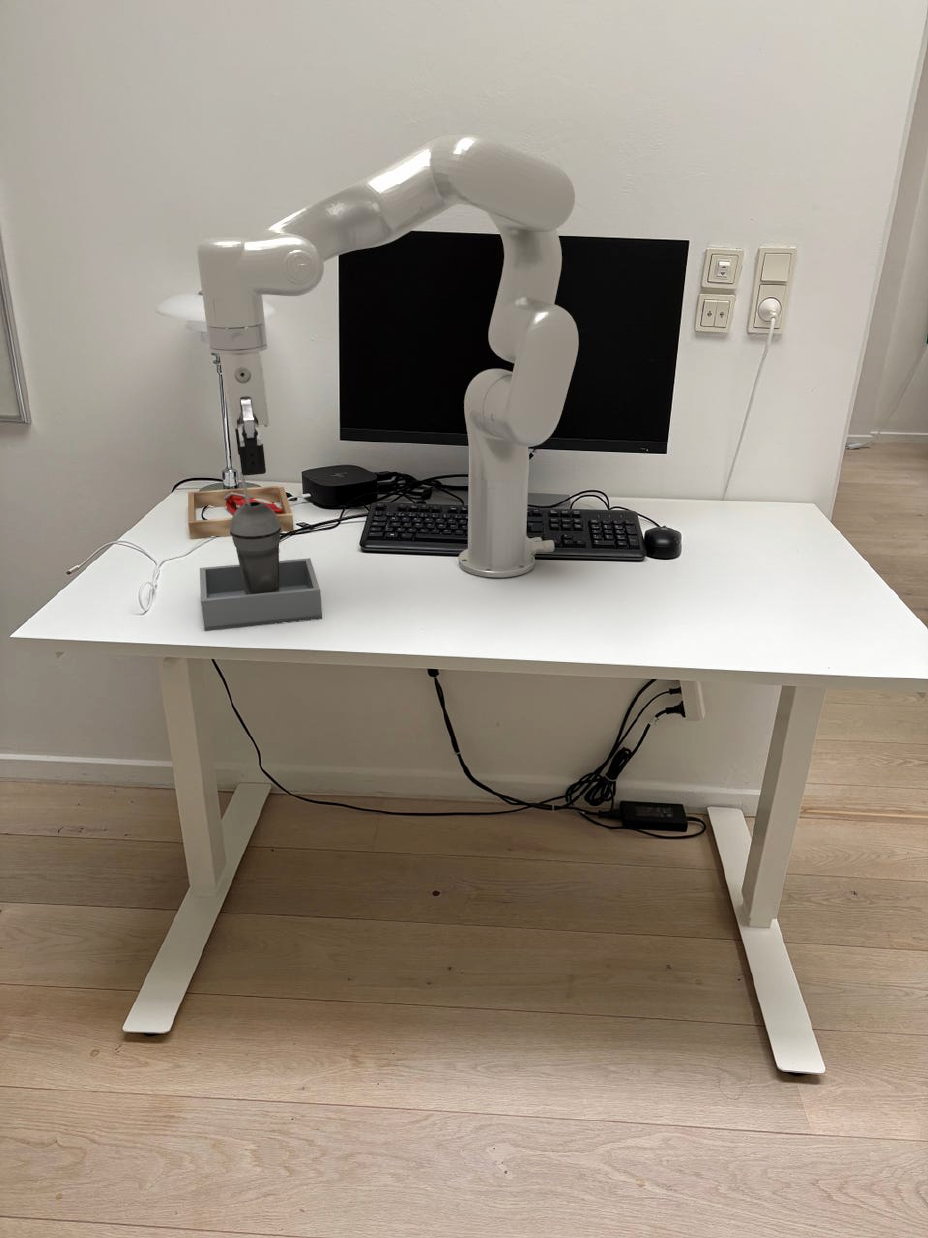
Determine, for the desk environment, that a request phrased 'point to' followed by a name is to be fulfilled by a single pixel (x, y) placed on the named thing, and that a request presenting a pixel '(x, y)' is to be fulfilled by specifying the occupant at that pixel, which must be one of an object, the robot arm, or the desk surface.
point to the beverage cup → (257, 545)
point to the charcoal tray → (259, 597)
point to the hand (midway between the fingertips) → (251, 463)
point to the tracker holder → (238, 500)
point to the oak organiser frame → (216, 499)
